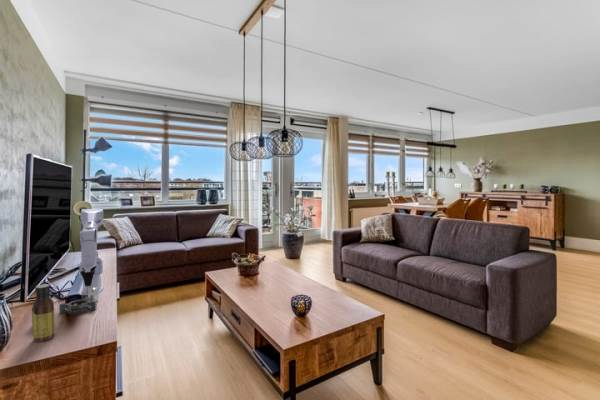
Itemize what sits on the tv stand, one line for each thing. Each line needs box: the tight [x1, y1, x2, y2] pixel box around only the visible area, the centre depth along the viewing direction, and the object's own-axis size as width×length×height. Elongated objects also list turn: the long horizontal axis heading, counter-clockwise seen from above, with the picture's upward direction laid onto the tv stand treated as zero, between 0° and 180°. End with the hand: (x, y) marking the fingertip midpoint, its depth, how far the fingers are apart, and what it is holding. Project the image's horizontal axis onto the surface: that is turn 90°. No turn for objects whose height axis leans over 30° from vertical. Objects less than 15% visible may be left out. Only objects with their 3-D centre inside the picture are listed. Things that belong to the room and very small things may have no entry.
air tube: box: [87, 287, 99, 304], centre depth 145 cm, size 4×4×7 cm
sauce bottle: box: [31, 283, 56, 343], centre depth 111 cm, size 7×6×20 cm
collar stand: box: [58, 299, 98, 316], centre depth 136 cm, size 8×14×4 cm, turn 109°
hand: (88, 283), depth 143 cm, fingers open, 7 cm apart
